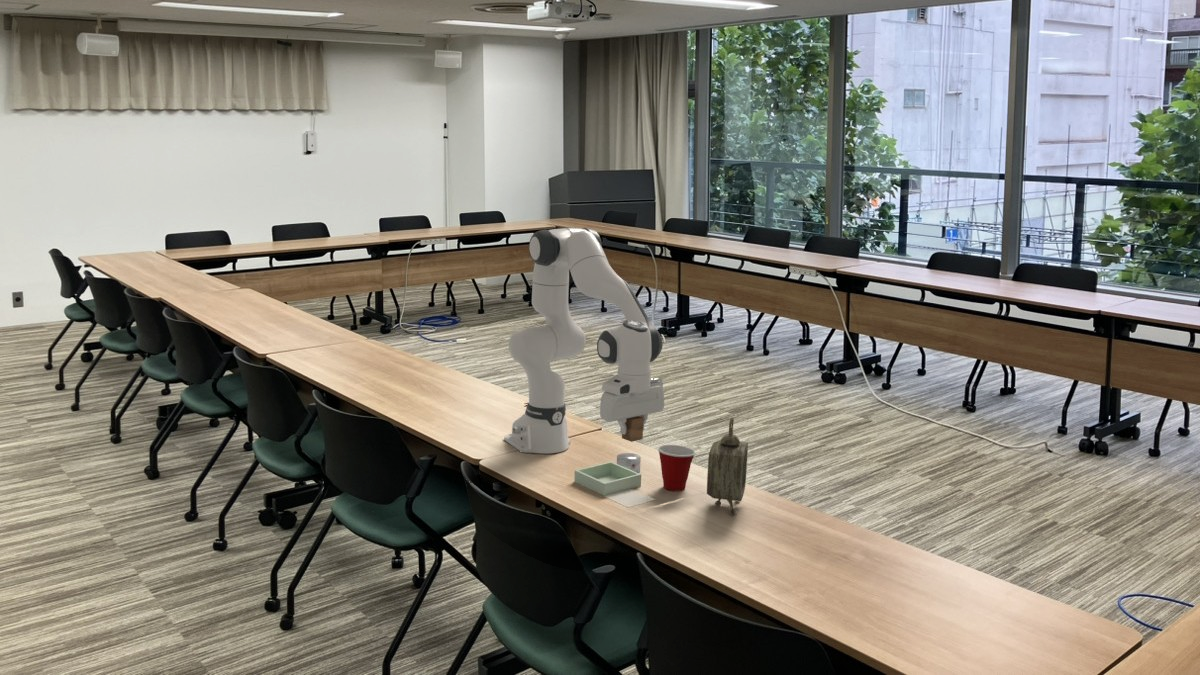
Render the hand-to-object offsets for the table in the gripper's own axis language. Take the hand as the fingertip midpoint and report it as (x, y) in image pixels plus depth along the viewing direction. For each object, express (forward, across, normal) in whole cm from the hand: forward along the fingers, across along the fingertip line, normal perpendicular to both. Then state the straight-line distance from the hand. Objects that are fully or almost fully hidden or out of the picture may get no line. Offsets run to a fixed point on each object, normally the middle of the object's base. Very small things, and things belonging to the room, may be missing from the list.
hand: (632, 431), depth 276 cm
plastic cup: (+20, -16, +1) cm, 25 cm away
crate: (+19, -2, -12) cm, 23 cm away
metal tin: (+19, -14, -17) cm, 29 cm away
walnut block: (+2, 0, 0) cm, 2 cm away
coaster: (+19, 0, 0) cm, 19 cm away
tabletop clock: (+20, -18, +19) cm, 33 cm away
